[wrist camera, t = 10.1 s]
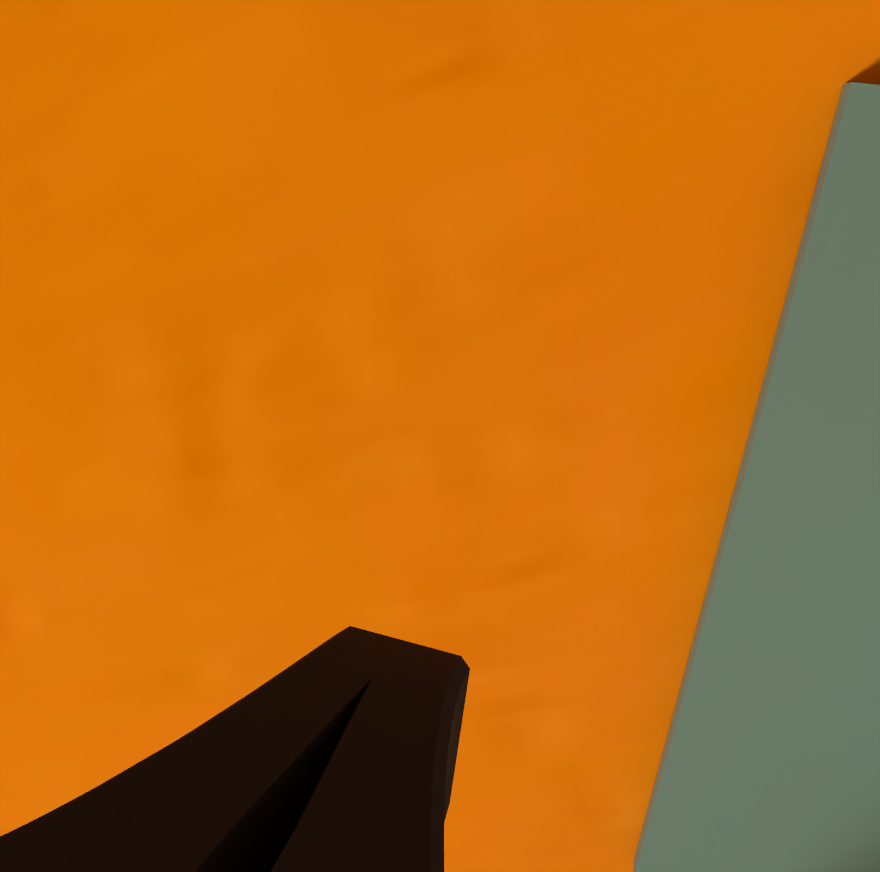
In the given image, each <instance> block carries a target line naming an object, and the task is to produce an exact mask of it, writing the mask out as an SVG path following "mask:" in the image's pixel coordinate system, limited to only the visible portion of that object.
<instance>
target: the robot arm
mask: <svg viewBox="0 0 880 872" xmlns="http://www.w3.org/2000/svg"><path fill="white" fill-rule="evenodd" d="M469 671H470V668H469V667H468V665H467V664H466V662H465V661H464V660H463V658H462V657H461V656H459V655H455V654H451V653H448V652H444V651H440V650H437V649H433V648H429V647H426V646H422V645H418V644H414V643H411V642H407V641H403V640H400V639H396V638H392V637H388V636H385V635H381V634H377V633H374V632H370V631H366V630H363V629H359V628H355V627H351V626H349V627H348V628H346V629H344V630H343V631H341V632H339V633H338V634H336V635H335V636H333V637H332V638H330V639H329V640H327V641H326V642H324V643H323V644H321V645H320V646H319V647H317V648H316V649H314V650H313V651H311V652H310V653H308V654H307V655H306V656H304V657H303V658H301V659H300V660H298V661H297V662H295V663H294V664H292V665H291V666H290V667H288V668H287V669H285V670H284V671H282V672H281V673H279V674H278V675H276V676H275V677H273V678H272V679H271V680H269V681H268V682H266V683H265V684H263V685H262V686H260V687H259V688H257V689H256V690H254V691H253V692H251V693H250V694H248V695H247V696H245V697H244V698H242V699H241V700H239V701H237V702H236V703H234V704H233V705H231V706H230V707H228V708H227V709H225V710H223V711H222V712H220V713H219V714H217V715H216V716H214V717H213V718H211V719H210V720H208V721H206V722H205V723H203V724H202V725H200V726H199V727H197V728H196V729H194V730H192V731H191V732H189V733H188V734H186V735H184V736H183V737H181V738H180V739H178V740H176V741H175V742H173V743H171V744H170V745H168V746H166V747H165V748H163V749H161V750H159V751H158V752H156V753H154V754H152V755H151V756H149V757H147V758H146V759H144V760H142V761H140V762H139V763H137V764H135V765H134V766H132V767H130V768H128V769H127V770H125V771H123V772H121V773H120V774H118V775H116V776H115V777H113V778H111V779H109V780H108V781H106V782H104V783H103V784H101V785H99V786H97V787H96V788H94V789H92V790H90V791H88V792H86V793H85V794H83V795H81V796H79V797H77V798H75V799H73V800H72V801H70V802H68V803H66V804H64V805H62V806H60V807H58V808H57V809H55V810H53V811H51V812H49V813H47V814H45V815H43V816H41V817H39V818H37V819H35V820H33V821H31V822H29V823H27V824H25V825H23V826H21V827H19V828H17V829H15V830H13V831H11V832H9V833H7V834H5V835H3V836H1V837H0V872H444V821H445V817H446V814H447V810H448V806H449V803H450V796H451V790H452V783H453V776H454V770H455V763H456V757H457V750H458V743H459V737H460V730H461V724H462V717H463V710H464V704H465V697H466V691H467V684H468V677H469Z"/></svg>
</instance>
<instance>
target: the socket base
mask: <svg viewBox="0 0 880 872" xmlns="http://www.w3.org/2000/svg"><path fill="white" fill-rule="evenodd" d="M633 872H880V85H876V84H866V83H857V82H849V83H845V84H844V85H843V88H842V92H841V96H840V100H839V103H838V107H837V111H836V114H835V118H834V122H833V126H832V129H831V133H830V137H829V140H828V144H827V148H826V151H825V155H824V159H823V163H822V166H821V170H820V174H819V177H818V181H817V185H816V188H815V192H814V196H813V200H812V203H811V207H810V211H809V214H808V218H807V222H806V225H805V229H804V233H803V237H802V240H801V244H800V248H799V251H798V255H797V259H796V263H795V266H794V270H793V274H792V277H791V281H790V285H789V288H788V292H787V296H786V300H785V303H784V307H783V311H782V314H781V318H780V322H779V325H778V329H777V333H776V337H775V340H774V344H773V348H772V351H771V355H770V359H769V362H768V366H767V370H766V374H765V377H764V381H763V385H762V388H761V392H760V396H759V400H758V403H757V407H756V411H755V414H754V418H753V422H752V425H751V429H750V433H749V437H748V440H747V444H746V448H745V451H744V455H743V459H742V462H741V466H740V470H739V474H738V477H737V481H736V485H735V488H734V492H733V496H732V499H731V503H730V507H729V511H728V514H727V518H726V522H725V525H724V529H723V533H722V537H721V540H720V544H719V548H718V551H717V555H716V559H715V562H714V566H713V570H712V574H711V577H710V581H709V585H708V588H707V592H706V596H705V599H704V603H703V607H702V611H701V614H700V618H699V622H698V625H697V629H696V633H695V636H694V640H693V644H692V648H691V651H690V655H689V659H688V662H687V666H686V670H685V674H684V677H683V681H682V685H681V688H680V692H679V696H678V699H677V703H676V707H675V711H674V714H673V718H672V722H671V725H670V729H669V733H668V736H667V740H666V744H665V748H664V751H663V755H662V759H661V762H660V766H659V770H658V773H657V777H656V781H655V785H654V788H653V792H652V796H651V799H650V803H649V807H648V811H647V814H646V818H645V822H644V825H643V829H642V833H641V836H640V840H639V844H638V848H637V851H636V855H635V859H634V870H633Z"/></svg>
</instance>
